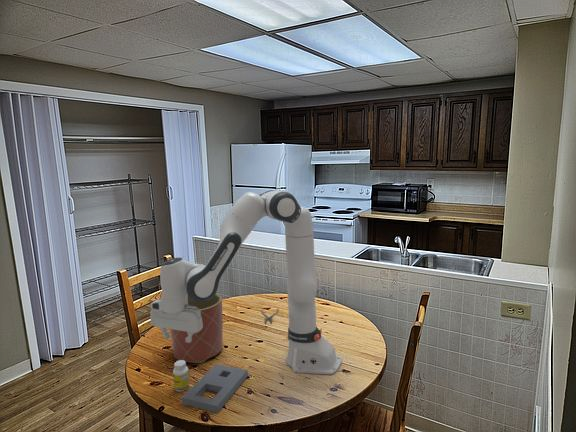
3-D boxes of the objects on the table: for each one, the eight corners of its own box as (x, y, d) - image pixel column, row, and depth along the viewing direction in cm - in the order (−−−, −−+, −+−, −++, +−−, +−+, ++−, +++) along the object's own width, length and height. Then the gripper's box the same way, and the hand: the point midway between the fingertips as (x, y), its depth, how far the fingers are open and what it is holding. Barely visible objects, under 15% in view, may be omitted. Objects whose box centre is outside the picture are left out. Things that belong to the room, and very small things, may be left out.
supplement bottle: (171, 387, 134) (169, 363, 133) (185, 381, 138) (183, 357, 137) (178, 394, 131) (176, 368, 129) (192, 387, 134) (190, 362, 133)
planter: (203, 370, 145) (199, 314, 141) (159, 359, 154) (155, 306, 151) (234, 344, 165) (232, 294, 162) (194, 335, 175) (191, 288, 171)
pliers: (277, 306, 205) (283, 321, 186) (277, 308, 206) (283, 323, 186) (260, 308, 204) (265, 323, 184) (260, 310, 204) (265, 325, 184)
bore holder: (247, 375, 140) (247, 369, 140) (217, 413, 120) (217, 406, 120) (216, 369, 145) (215, 363, 145) (182, 404, 125) (181, 397, 125)
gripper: (205, 303, 129) (207, 340, 131) (158, 297, 136) (160, 332, 138) (194, 310, 123) (197, 348, 125) (146, 303, 130) (149, 339, 132)
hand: (177, 340), depth 132 cm, fingers open, 8 cm apart
